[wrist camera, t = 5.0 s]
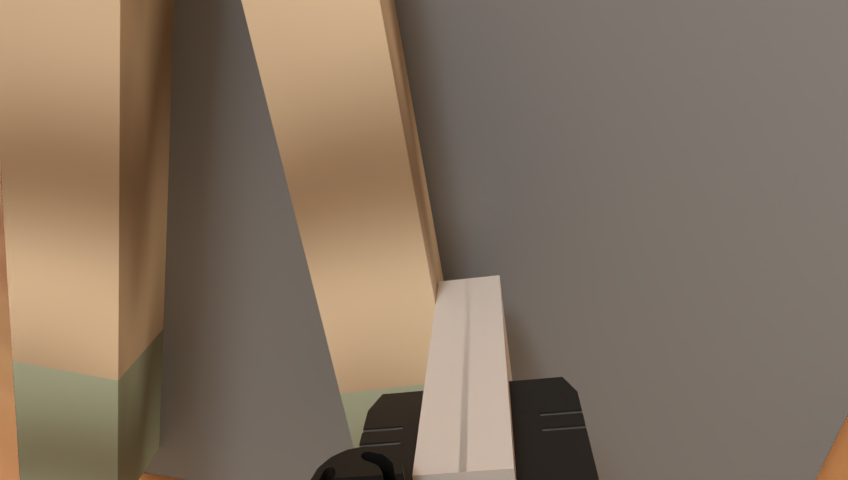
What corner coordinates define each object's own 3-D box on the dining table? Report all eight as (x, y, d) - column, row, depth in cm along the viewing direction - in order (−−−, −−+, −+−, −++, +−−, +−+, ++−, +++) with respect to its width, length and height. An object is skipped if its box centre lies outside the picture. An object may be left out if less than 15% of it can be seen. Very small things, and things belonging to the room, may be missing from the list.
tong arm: (247, -132, 14) (202, -154, 11) (366, -157, 13) (345, -185, 11) (386, 462, 19) (374, 530, 17) (474, 453, 19) (475, 521, 16)
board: (22, -506, 13) (-20, -552, 12) (1144, -291, 13) (1207, -316, 12) (56, 427, 21) (33, 452, 20) (747, 553, 21) (763, 585, 20)
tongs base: (52, -479, 12) (-170, -723, 8) (323, -426, 12) (248, -640, 8) (74, 432, 19) (-34, 556, 15) (242, 463, 20) (181, 595, 15)
